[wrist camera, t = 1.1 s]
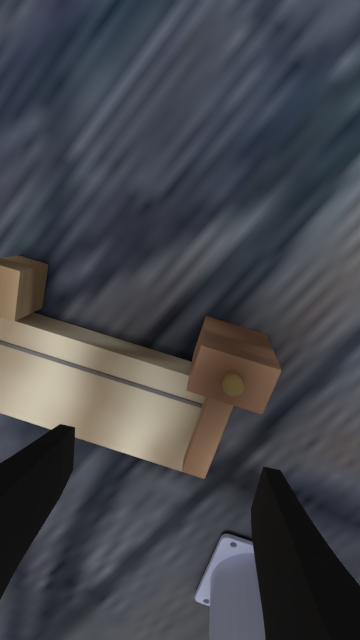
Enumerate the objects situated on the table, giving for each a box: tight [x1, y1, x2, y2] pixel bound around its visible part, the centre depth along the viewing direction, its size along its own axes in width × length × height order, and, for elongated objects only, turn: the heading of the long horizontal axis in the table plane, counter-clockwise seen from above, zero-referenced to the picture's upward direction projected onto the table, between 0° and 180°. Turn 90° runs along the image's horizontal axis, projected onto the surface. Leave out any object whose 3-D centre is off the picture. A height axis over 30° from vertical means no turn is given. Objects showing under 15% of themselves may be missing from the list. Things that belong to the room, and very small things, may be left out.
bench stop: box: [0, 255, 49, 321], centre depth 19 cm, size 2×3×3 cm, turn 164°
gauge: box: [182, 316, 282, 479], centre depth 18 cm, size 4×8×6 cm, turn 164°
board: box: [0, 312, 205, 472], centre depth 21 cm, size 15×7×2 cm, turn 74°
